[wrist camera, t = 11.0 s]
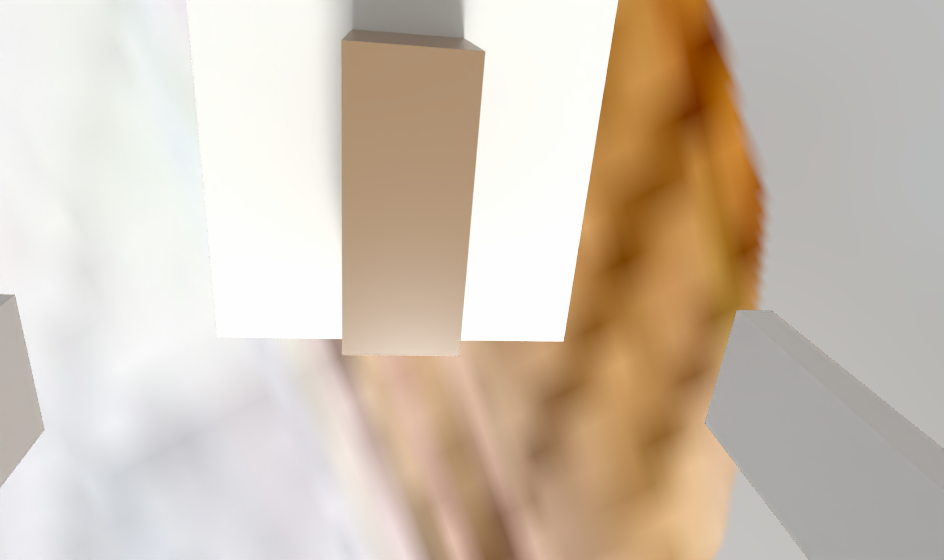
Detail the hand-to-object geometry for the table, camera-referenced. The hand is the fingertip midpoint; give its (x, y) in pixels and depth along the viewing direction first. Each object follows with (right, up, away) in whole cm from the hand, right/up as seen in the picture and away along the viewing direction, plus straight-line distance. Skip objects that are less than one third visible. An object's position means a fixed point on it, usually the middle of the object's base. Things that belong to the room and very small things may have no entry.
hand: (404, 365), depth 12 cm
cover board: (-2, +6, +14) cm, 15 cm away
